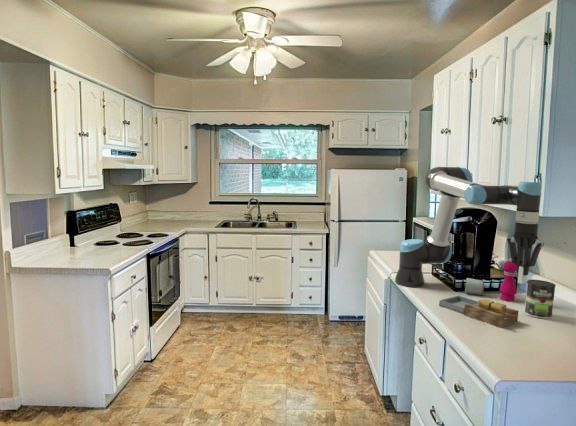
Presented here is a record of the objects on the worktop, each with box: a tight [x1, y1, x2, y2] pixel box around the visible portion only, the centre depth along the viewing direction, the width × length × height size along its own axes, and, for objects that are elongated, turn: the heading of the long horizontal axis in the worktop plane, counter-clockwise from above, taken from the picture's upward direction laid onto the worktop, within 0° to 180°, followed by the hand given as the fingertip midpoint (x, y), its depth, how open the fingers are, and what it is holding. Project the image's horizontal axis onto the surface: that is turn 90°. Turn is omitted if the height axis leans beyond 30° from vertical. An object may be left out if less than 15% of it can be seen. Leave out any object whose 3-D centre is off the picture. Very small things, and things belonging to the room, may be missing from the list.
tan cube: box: [478, 298, 495, 311], centre depth 169 cm, size 4×4×4 cm
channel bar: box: [463, 299, 519, 329], centre depth 167 cm, size 16×12×5 cm
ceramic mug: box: [464, 277, 485, 296], centre depth 202 cm, size 11×8×8 cm
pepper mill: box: [499, 257, 518, 302], centre depth 192 cm, size 7×7×20 cm
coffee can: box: [524, 279, 556, 320], centre depth 173 cm, size 10×10×14 cm
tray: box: [438, 295, 479, 315], centre depth 181 cm, size 12×14×2 cm
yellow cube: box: [491, 301, 507, 315], centre depth 164 cm, size 4×4×4 cm
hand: (521, 282), depth 156 cm, fingers closed
